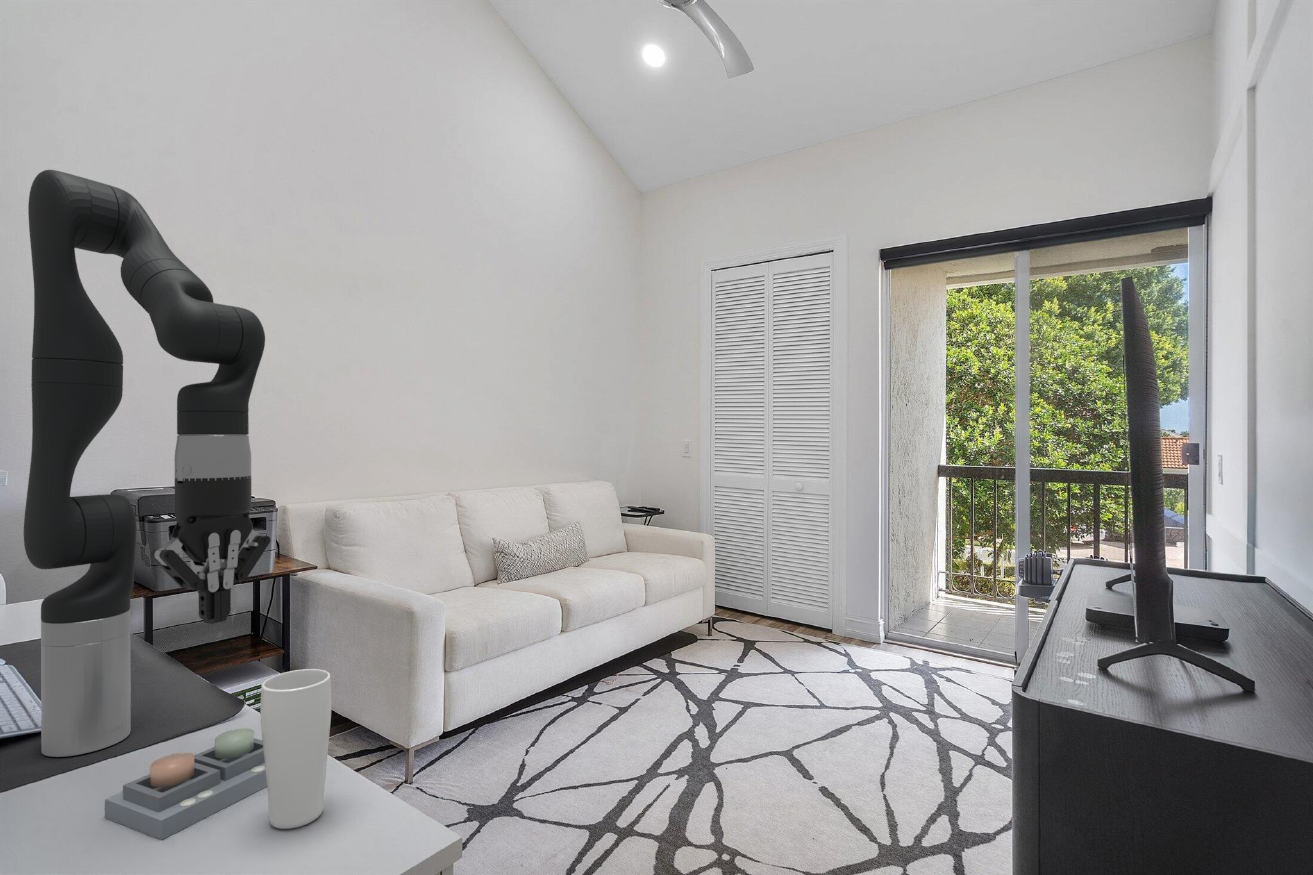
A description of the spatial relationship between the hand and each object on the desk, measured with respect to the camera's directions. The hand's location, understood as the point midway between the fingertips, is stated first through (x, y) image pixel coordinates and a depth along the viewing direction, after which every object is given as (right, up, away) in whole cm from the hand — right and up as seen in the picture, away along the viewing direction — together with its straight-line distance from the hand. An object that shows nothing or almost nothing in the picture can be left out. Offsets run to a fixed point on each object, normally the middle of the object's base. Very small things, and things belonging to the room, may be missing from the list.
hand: (214, 621), depth 79 cm
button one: (+1, -16, +2) cm, 16 cm away
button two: (-2, -16, -4) cm, 17 cm away
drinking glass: (+13, -20, -6) cm, 24 cm away
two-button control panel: (0, -20, -1) cm, 20 cm away
